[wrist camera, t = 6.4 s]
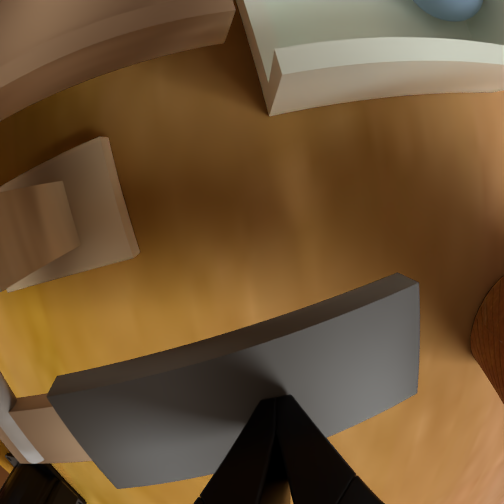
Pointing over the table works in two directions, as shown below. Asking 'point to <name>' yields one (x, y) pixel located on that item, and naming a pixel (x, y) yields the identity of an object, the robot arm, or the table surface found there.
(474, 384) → the table surface
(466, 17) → the ball
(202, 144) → the table surface
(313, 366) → the lever
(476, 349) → the disposable coffee cup
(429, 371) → the table surface
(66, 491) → the robot arm
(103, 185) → the fulcrum stand
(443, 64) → the white storage tray
